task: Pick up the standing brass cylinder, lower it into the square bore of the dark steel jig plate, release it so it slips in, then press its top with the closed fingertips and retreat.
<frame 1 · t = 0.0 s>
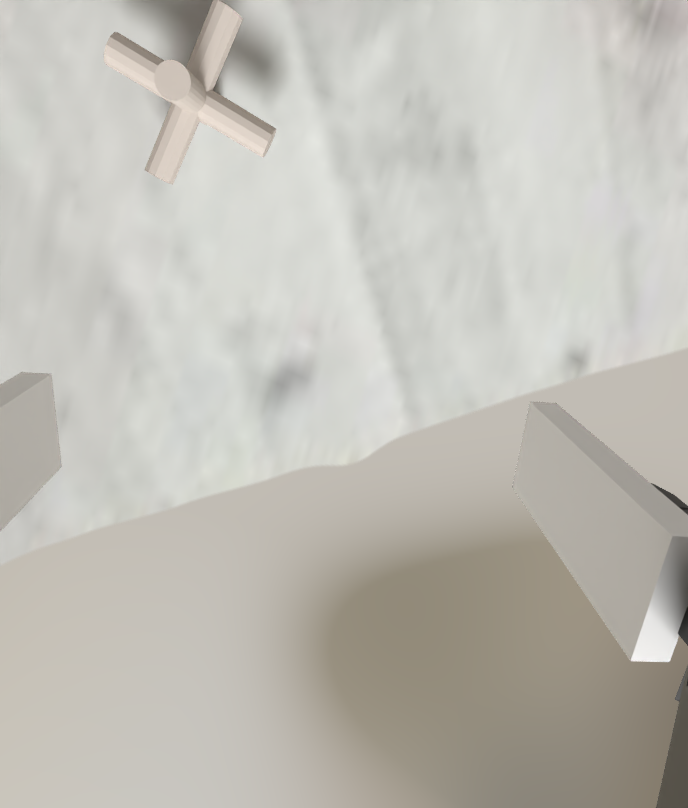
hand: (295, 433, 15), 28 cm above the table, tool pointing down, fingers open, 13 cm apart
pipe connector: (209, 110, 37), on the table
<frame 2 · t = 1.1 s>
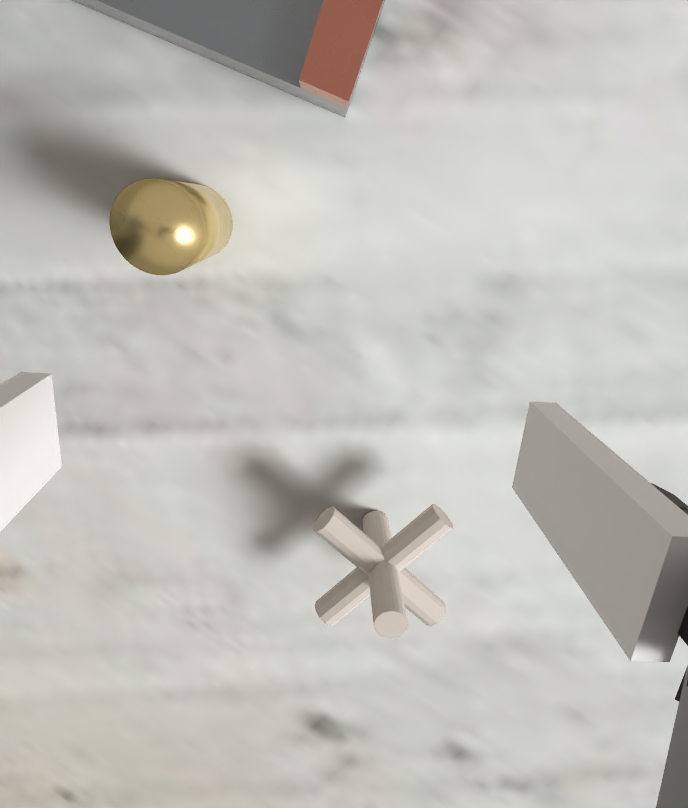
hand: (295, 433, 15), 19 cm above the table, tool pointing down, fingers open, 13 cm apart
pipe connector: (374, 520, 39), on the table
brass cylinder: (197, 221, 31), on the table
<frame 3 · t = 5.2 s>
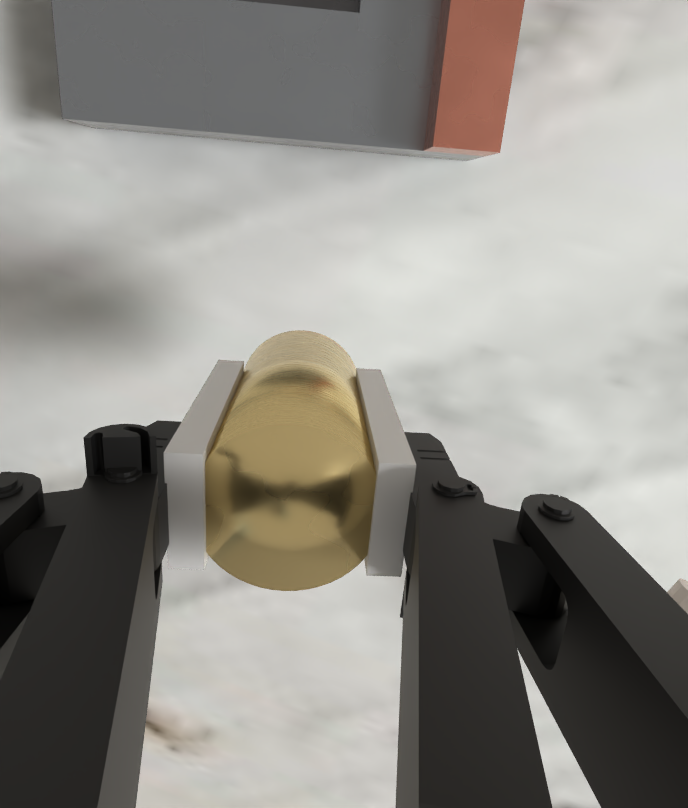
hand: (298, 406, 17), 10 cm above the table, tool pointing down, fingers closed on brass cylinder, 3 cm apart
pipe connector: (586, 593, 33), on the table
brass cylinder: (300, 387, 19), point 8 cm above the table, touching gripper
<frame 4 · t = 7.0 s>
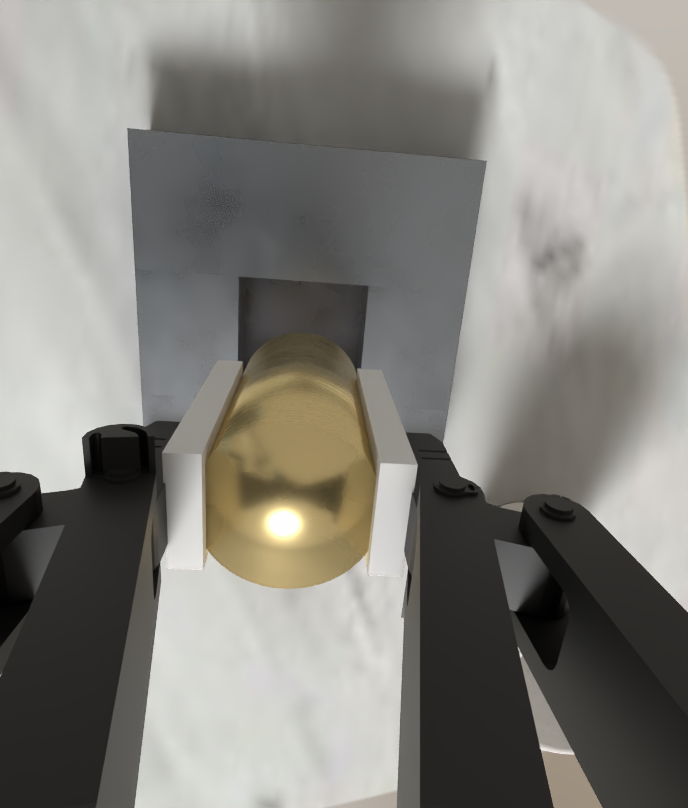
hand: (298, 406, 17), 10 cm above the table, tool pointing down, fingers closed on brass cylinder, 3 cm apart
jig: (302, 328, 27), on the table
brass cylinder: (300, 388, 19), point 9 cm above the table, touching gripper
dixie cup: (512, 542, 32), on the table
when the fingers open (3 cm above the table, at t = 9.1 s): brass cylinder drops 2 cm, resting on jig.
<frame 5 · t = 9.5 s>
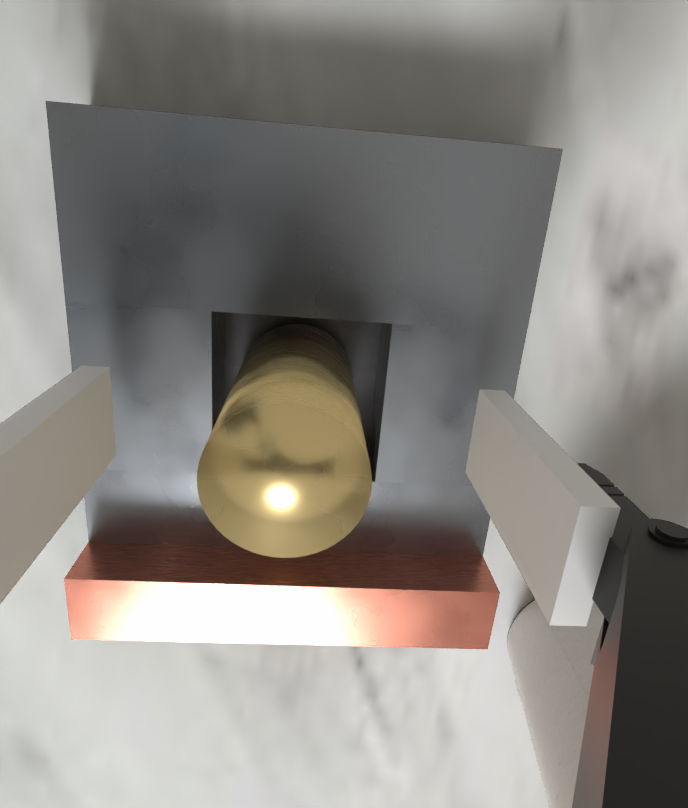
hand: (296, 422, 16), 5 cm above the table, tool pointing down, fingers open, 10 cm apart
jig: (300, 374, 20), on the table
brass cylinder: (297, 377, 20), resting on jig
dixie cup: (565, 633, 26), on the table
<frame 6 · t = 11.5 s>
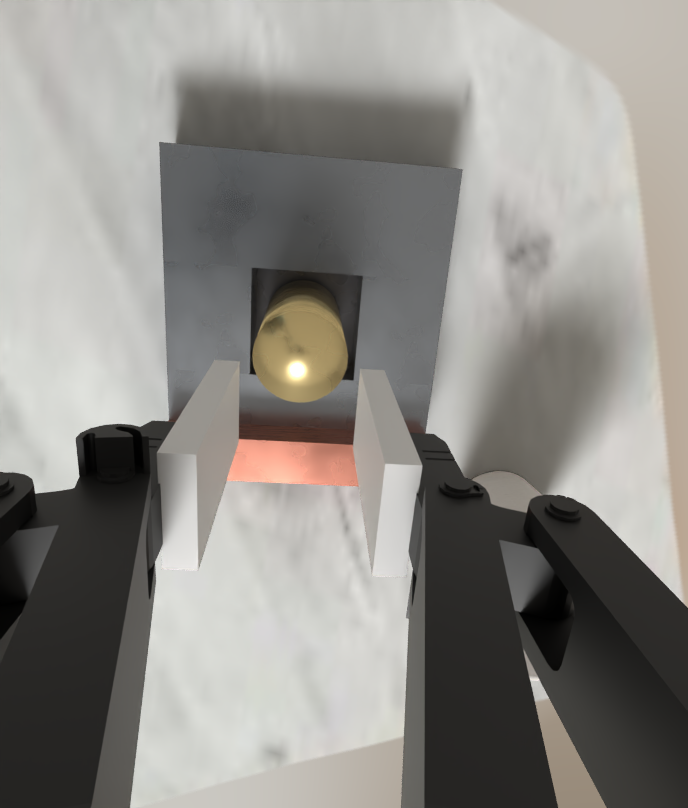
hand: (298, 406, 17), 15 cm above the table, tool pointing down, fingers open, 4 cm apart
jig: (305, 314, 31), on the table
brass cylinder: (303, 316, 31), resting on jig
dixie cup: (493, 507, 36), on the table
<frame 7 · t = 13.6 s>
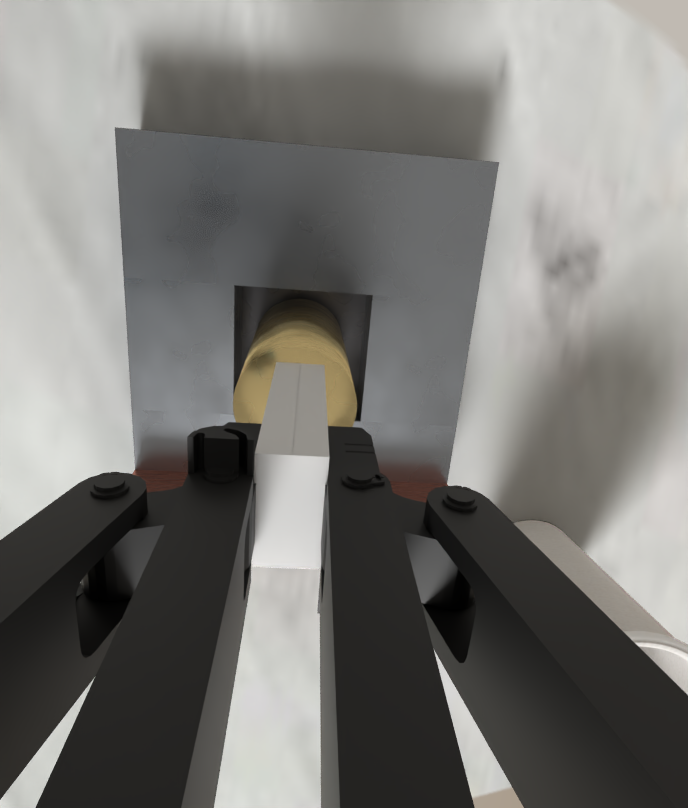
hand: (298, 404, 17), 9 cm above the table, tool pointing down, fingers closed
jig: (302, 339, 26), on the table
brass cylinder: (299, 342, 25), resting on jig, touching gripper
dixie cup: (522, 561, 31), on the table
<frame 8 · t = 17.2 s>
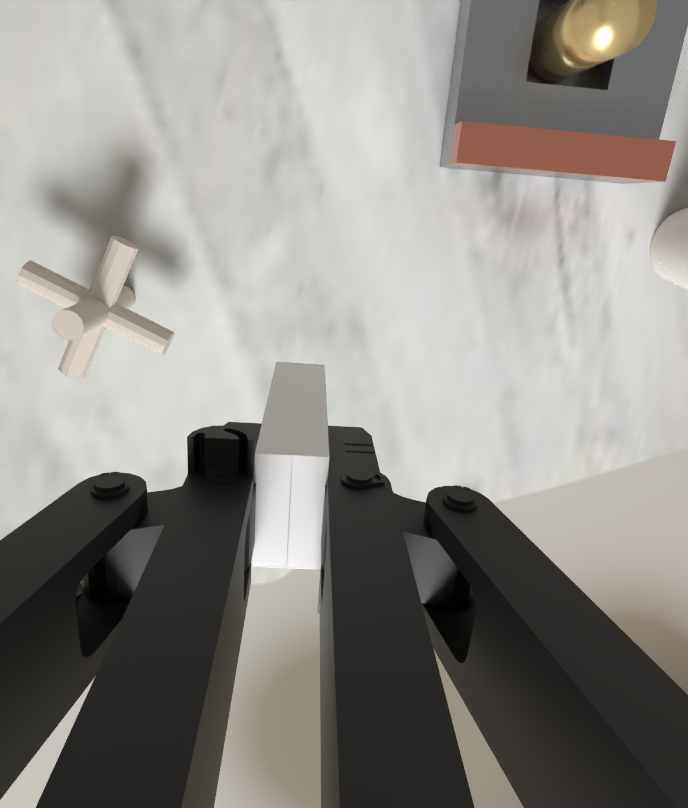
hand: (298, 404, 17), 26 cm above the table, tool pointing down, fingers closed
pipe connector: (123, 296, 42), on the table
jig: (556, 48, 37), on the table
brass cylinder: (557, 47, 37), resting on jig
dixie cup: (684, 245, 43), on the table
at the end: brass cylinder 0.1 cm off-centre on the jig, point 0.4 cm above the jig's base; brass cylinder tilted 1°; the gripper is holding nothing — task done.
